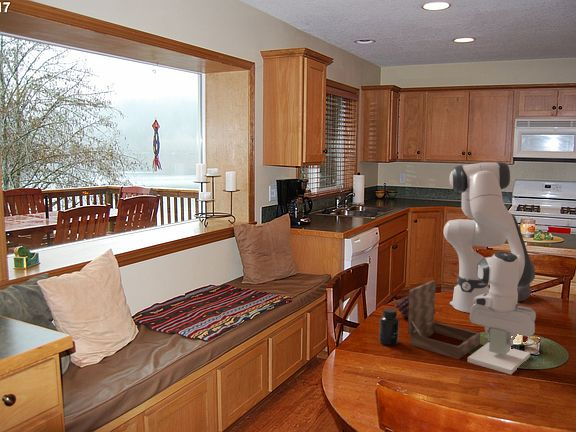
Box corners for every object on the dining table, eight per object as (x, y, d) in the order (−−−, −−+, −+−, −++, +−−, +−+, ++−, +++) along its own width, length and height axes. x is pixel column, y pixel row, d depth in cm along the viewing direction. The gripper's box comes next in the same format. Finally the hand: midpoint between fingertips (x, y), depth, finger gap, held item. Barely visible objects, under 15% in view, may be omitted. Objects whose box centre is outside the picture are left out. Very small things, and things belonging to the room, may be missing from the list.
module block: (494, 346, 176) (496, 323, 175) (509, 350, 172) (511, 326, 171) (489, 351, 172) (490, 327, 171) (504, 355, 169) (506, 330, 168)
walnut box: (430, 330, 199) (433, 280, 196) (479, 343, 186) (483, 290, 183) (407, 344, 185) (409, 290, 183) (458, 359, 173) (461, 301, 170)
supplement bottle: (398, 346, 183) (399, 314, 181) (378, 345, 184) (379, 312, 183) (398, 339, 190) (399, 308, 188) (379, 338, 191) (380, 306, 189)
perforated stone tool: (522, 304, 232) (523, 289, 231) (510, 302, 235) (511, 287, 234) (532, 297, 243) (533, 282, 242) (520, 295, 246) (521, 280, 246)
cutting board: (488, 346, 184) (488, 342, 184) (529, 357, 175) (530, 352, 174) (467, 361, 171) (467, 357, 170) (510, 374, 161) (511, 370, 161)
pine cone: (438, 320, 211) (439, 296, 209) (428, 326, 203) (429, 302, 202) (398, 311, 222) (399, 288, 220) (387, 317, 214) (388, 293, 212)
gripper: (539, 306, 165) (536, 347, 167) (476, 293, 179) (474, 332, 181) (533, 311, 161) (529, 353, 163) (468, 297, 174) (466, 337, 176)
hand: (500, 342), depth 172 cm, fingers closed on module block, 5 cm apart
